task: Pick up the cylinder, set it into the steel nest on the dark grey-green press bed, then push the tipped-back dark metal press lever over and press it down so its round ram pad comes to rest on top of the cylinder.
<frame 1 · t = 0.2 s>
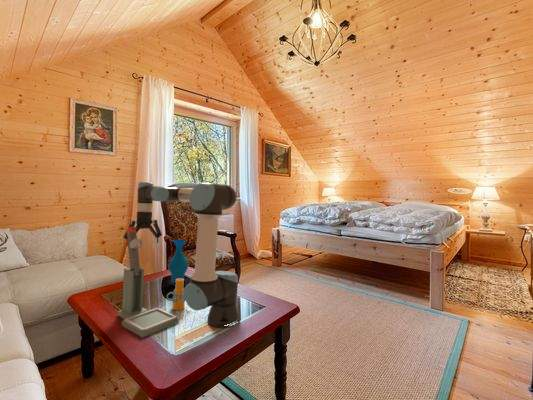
hand: (142, 250, 149), 28 cm above the table, tool pointing down, fingers open, 13 cm apart
cylinder: (178, 308, 144), on the table
vase: (177, 283, 184), on the table
press frame: (150, 323, 126), on the table
press lever: (134, 251, 134), point 30 cm above the table, hinge at 105.0°
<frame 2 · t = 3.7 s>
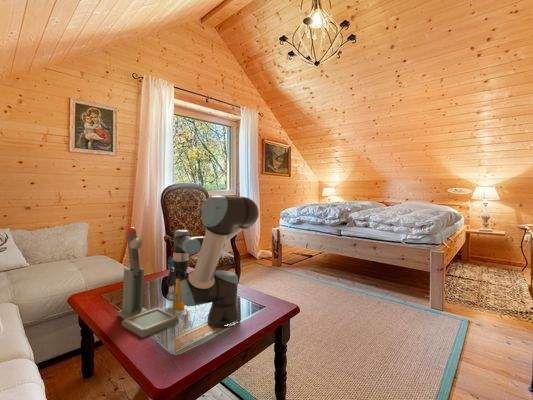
hand: (178, 301, 144), 3 cm above the table, tool pointing down, fingers closed on cylinder, 12 cm apart
cylinder: (178, 308, 144), on the table, touching gripper
everything else where it was.
when the fingers open (7 cm above the table, at t = 11.9 s): cylinder drops 2 cm, resting on press frame.
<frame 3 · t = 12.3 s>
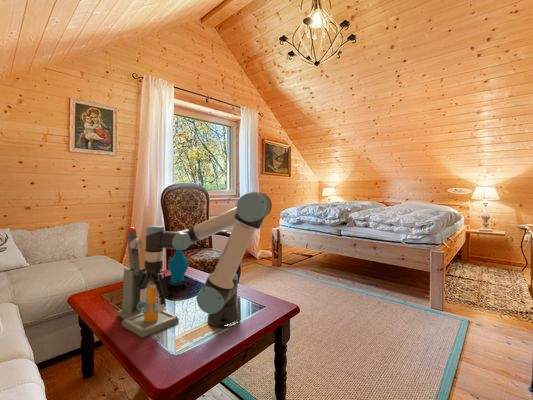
hand: (151, 307, 126), 8 cm above the table, tool pointing down, fingers open, 13 cm apart
cylinder: (151, 319, 126), point 2 cm above the table, touching press frame
everything else where it was.
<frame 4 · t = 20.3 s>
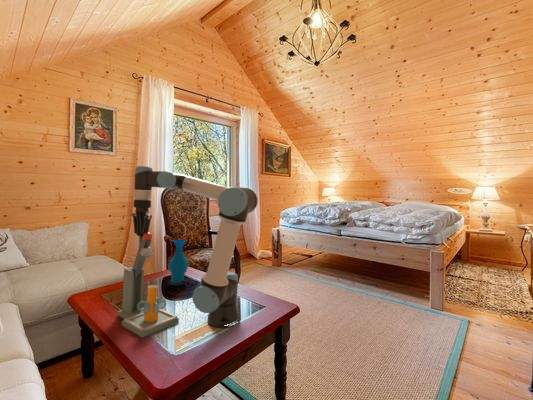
hand: (140, 249, 132), 32 cm above the table, tool pointing down, fingers closed
press lever: (142, 256, 130), point 29 cm above the table, hinge at 66.0°, touching gripper
everything else where it was.
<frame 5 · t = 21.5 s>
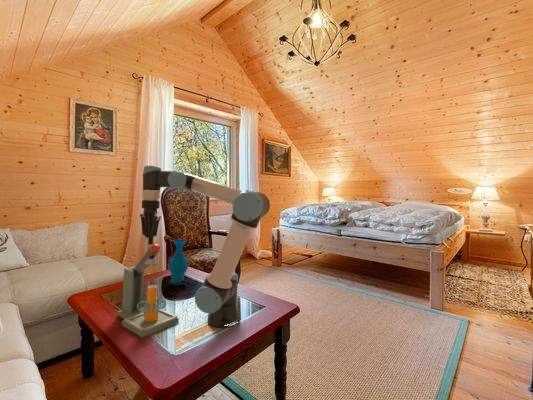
hand: (148, 251, 128), 32 cm above the table, tool pointing down, fingers closed
press lever: (146, 263, 129), point 27 cm above the table, hinge at 43.8°
everything else where it was.
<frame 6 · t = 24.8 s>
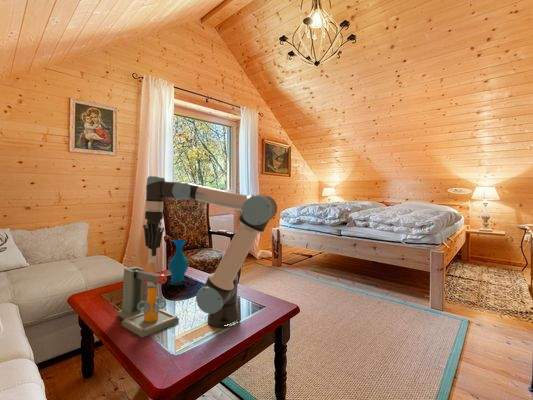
hand: (151, 262, 126), 28 cm above the table, tool pointing down, fingers closed
cylinder: (151, 319, 126), point 2 cm above the table, touching press frame, press lever
press lever: (148, 278, 127), point 20 cm above the table, hinge at 4.6°, touching cylinder
everything else where it was.
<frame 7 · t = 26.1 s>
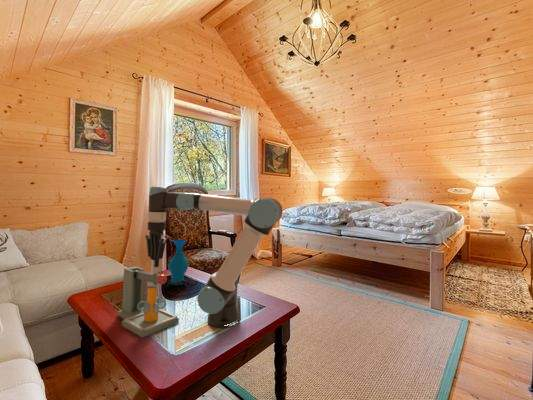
hand: (154, 273, 125), 23 cm above the table, tool pointing down, fingers closed
press lever: (148, 278, 127), point 20 cm above the table, hinge at 4.6°, touching cylinder, gripper
everything else where it was.
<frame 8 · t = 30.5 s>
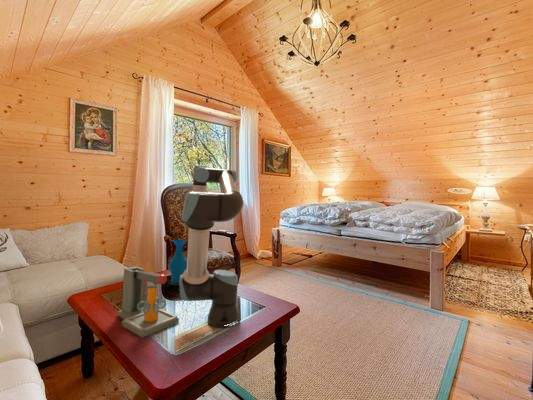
hand: (197, 235, 156), 36 cm above the table, tool pointing down, fingers closed
press lever: (148, 278, 127), point 20 cm above the table, hinge at 4.6°, touching cylinder
everything else where it was.
at the end: cylinder 0.1 cm off-centre on the press frame, point 1.8 cm above the press frame's base; cylinder tilted 0°; press lever at +5° (first picture: +105°) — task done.
